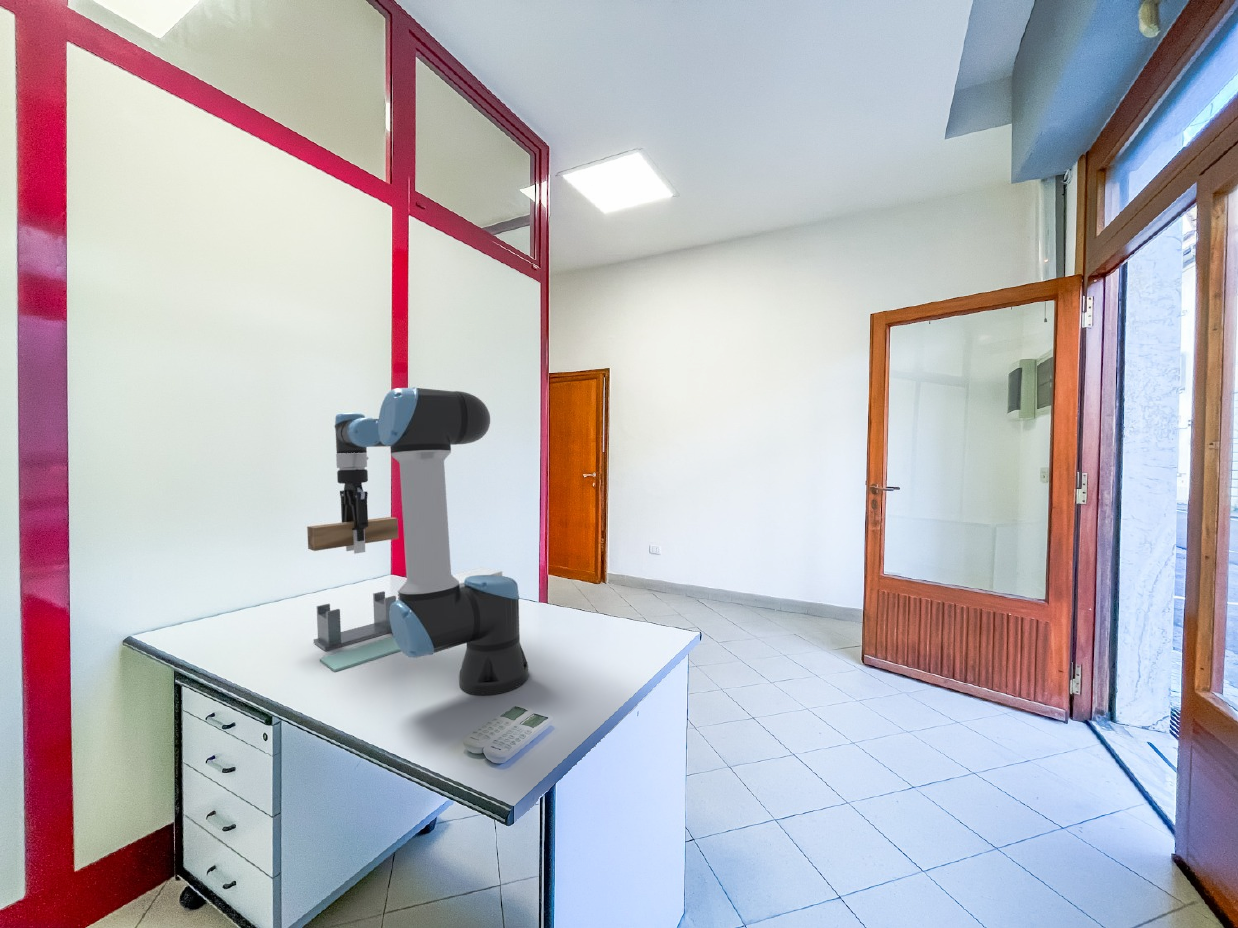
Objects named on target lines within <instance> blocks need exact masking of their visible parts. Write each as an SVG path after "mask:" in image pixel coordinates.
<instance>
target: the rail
mask: <svg viewBox="0 0 1238 928" xmlns="http://www.w3.org/2000/svg"><path fill="white" fill-rule="evenodd" d="M398 519H399V518H397V517H393V516H389V517H388V516H387V517H377V518H368V527H366V528H365V544H370V543H377V542H383V541H391V540H398V539H399V521H398ZM306 528H307V529H306V530H307V548H308V550H310V551H314V552H319V551H322V550H329V549H336V548H342V547H346V546H351V545H354V539H353V530H352V528H355V527H354V521H351V522H342V521H341V522H335V523H326V524H319V525H318V524H316V525H308V526H307V527H306Z"/></svg>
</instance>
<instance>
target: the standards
mask: <svg viewBox="0 0 1238 928" xmlns="http://www.w3.org/2000/svg"><path fill="white" fill-rule="evenodd" d="M372 597H373V599H372V602H373V623H370V624H367V625H362V626H359V627H355V628H351V629H347V630H343V631H341V629H342V628H341V609H339V608H336V609H332V610H331V604H330V603H325V604H321V605H317V606H316V623H317V624H316V625H317V638H314V639H313V640H312V641H313V644H314V643H315V644H314V645H316V646H317V647H318V648H320V650H323V651H324V652H327V651H331V650H335V649H339V648H342V647H345V646H349V645H352V644H356V643H359V642H363V641H366V640H369V639H373V638H376V637H381V636H383V635H386V634H387V635H388V634H390V633H391V634H392V633H393V632H392V629H391V625H390V618H389V611H390V606H391V604H392V603H394V602H395V601H397V596H396V595H392V596H388V597H386V592H385V591H379V592H375V593H372Z"/></svg>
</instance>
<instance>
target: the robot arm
mask: <svg viewBox="0 0 1238 928" xmlns="http://www.w3.org/2000/svg"><path fill="white" fill-rule="evenodd" d="M490 414H491V413H490V411H489V409H488V407H487V406H486V404H485V402H484V401H482V400H481V399H480V398H479V397H477V396H475V395H474V394H471V393H468V392H465V391H461V390H460V391H459V390H458V391H457V390H455V391H454V390H441V389H433V388H431V389H429V388H419V387H397V388H396V387H395V388H393V389H391V390H390V391H389V392H388V393H387V394H386V395H385V397H384V399H383V401H382V403H381V406H380V409H379V414H378V418H372V417H366V416H365V415H364V414H363V413H356V412H346V413H337V414H336V415H335V421H334V423H335V424H334V429H335V444H336V445H335V447H336V448H335V450H336V454H335V458H336V468H337V469H338V470H337V471H336V475H337V477H336V478H337V483H338V484H343V485H344V487H343V490H339V496H340V508H341V509H340V511H341V512H340V513H341V516H340V517H341V523H342V522H351V521H354V527H355V528H352V530H353V539H354V545H351V546H345V551H346V552H352V551H353V554H361V553H362V554H363V553H366V543H365V528H366V527H368V520H369V515H368V513H369V512H368V495H369V493H368V490H367V491H364V489H363V483H367V482H368V481H369V477H368V475H369V473H368V470H367V469H366V468H367V467H368V460H369V457H368V455H367V453H368V451H367V449H368V448H374V447H376V448H377V447H378V448H379V447H382V448H383V447H387V448H388V447H389V448H390V456H391V457H393V458H394V459H395V460H396V461H397V463H399V473H400V474H399V476H400V492H401V506H402V507H401V510H402V521H403V522H402V524H403V525H402V526H403V540H404V541H403V542H404V557H405V573H406V580H405V582H404V584H403V585H402V586H401V587H399V589H398V590H399V593H398V594H399V596H398V597H400V600H397V599H396V601H395V602H394V603H392V604H391V606H390V611H389V618H390V625H391V629H392V632H391V633H392V634H393V636H392V637H394V638H395V641H396V643H397V645H398V647H399V648H400V650H401V651H400V652H402V654H404V655H405V656H406V657H408V658H412V659H417V658H420V657H424V656H427V655H428V656H432V655H434V654H435V653H438V652H443V651H446V650H449V649H452V648H454V647H458V646H461V645H465V644H466V649H465V653H464V656H463V660H462V663H461V667H460V670H459V675H458V680H459V683H458V685H459V687H460V689H461V690H462V691H464V692H465V693H468V694H472V695H478V696H490V695H491V696H492V695H498V694H503V693H506V692H510V691H512V690H515V689H517V688H519V687H520V686H522V685H523V684H525V682H526V681H527V680H528V679H529V664H528V661H527V658H526V655H525V653H524V650H523V648H522V644H521V641H520V639H521V638H520V636H521V635H520V634H521V633H520V602H519V601H520V593H519V588H518V587H519V586H518V583H517V581H516V580H515V579H513V578H511V577H509V576H504V575H502V576H498V575H475V576H470V577H467V578H466V579H465V581H464V585H465V586H464V587H460V586H459V581H458V580H457V579H456V578H454V577H453V576H452V567H451V551H450V550H451V549H450V535H449V534H450V533H449V521H448V504H447V490H446V488H447V487H446V472H445V460H446V459H447V458H448V457H449V455H451V453H452V447H451V446H453V445H454V446H456V445H467V444H471V443H474V442H477V441H479V440H481V439H482V438H483V437H484V436H485V435H486V434H487V432H488V431H489V428H490V425H491V415H490Z"/></svg>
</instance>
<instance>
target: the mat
mask: <svg viewBox="0 0 1238 928" xmlns="http://www.w3.org/2000/svg"><path fill="white" fill-rule="evenodd" d="M398 652H402V651H401V650H400V648H399V647H398V645H397V643H396V641H395V638H394V636H390V637H387V638H384V639H381V640H378V641H374V642H371V643H368V644H364V645H360V646H358V647H355V648H351V649H350V648H349V649H347V650H343V651H340V652H337V653H334V654H330V655H327V656H324V657H320V658H319V662H320V663H322V664H323V665H325V667H327V668H328V669H330V671H332V672H333V673H336V672H339V671H342V670H346V669H348V668H352V667H355V666H357V665H361V664H364V663H367V662H370V661H374V660H376V659H380V658H383V657H385V656H388V655H392V654H396V653H398Z"/></svg>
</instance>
